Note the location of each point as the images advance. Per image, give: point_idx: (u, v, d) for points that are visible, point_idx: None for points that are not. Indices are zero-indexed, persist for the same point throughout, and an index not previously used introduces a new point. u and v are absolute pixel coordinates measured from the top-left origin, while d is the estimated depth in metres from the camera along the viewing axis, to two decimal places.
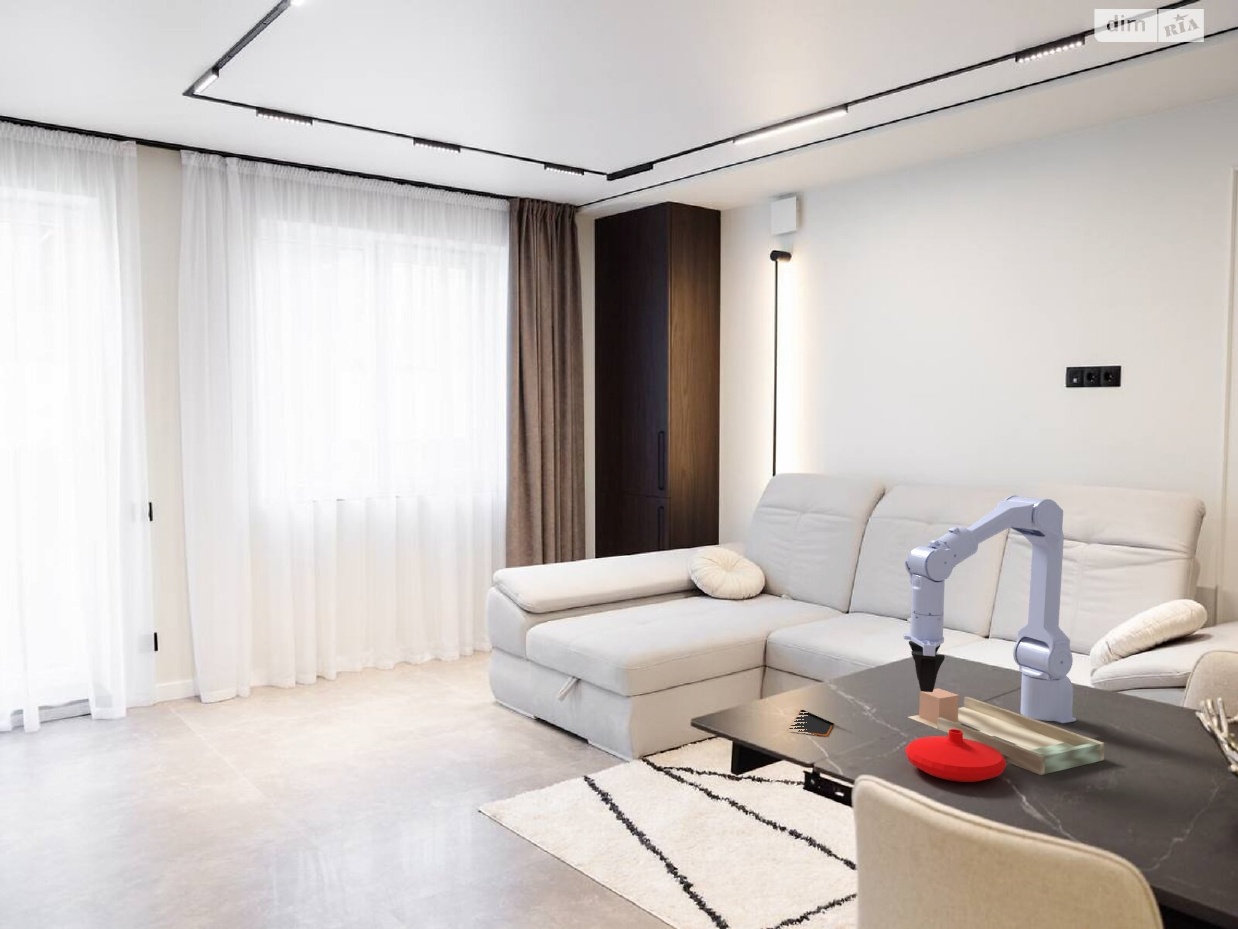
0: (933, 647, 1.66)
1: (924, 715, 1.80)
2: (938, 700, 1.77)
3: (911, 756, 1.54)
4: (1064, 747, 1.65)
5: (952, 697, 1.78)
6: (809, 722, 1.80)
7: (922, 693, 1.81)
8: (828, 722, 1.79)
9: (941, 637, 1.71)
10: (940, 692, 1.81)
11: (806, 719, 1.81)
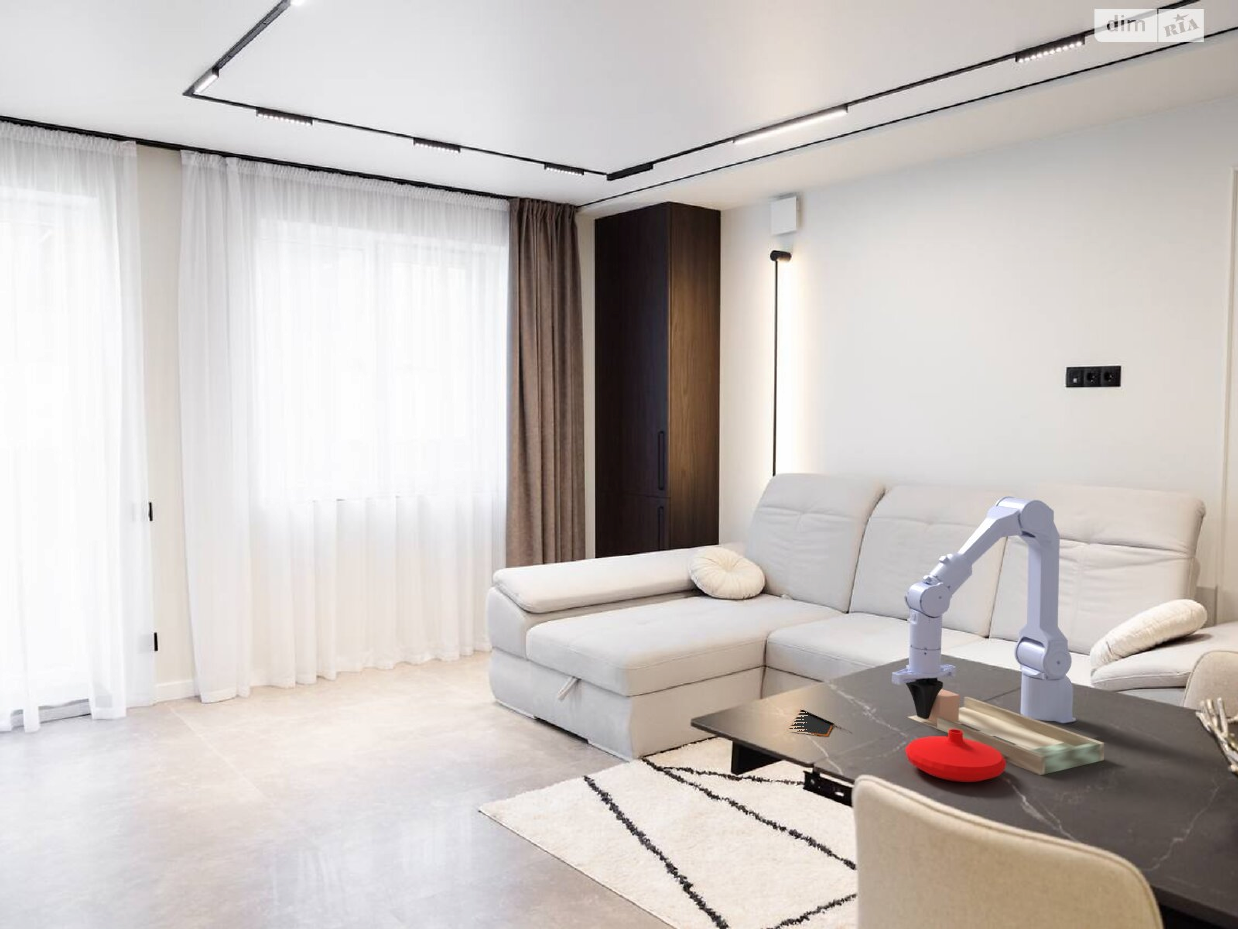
0: (898, 676, 1.74)
1: None
2: (939, 699, 1.77)
3: (911, 756, 1.54)
4: (1064, 747, 1.65)
5: (952, 697, 1.78)
6: (809, 722, 1.80)
7: None
8: (828, 722, 1.80)
9: (929, 672, 1.75)
10: (941, 692, 1.81)
11: (806, 719, 1.81)
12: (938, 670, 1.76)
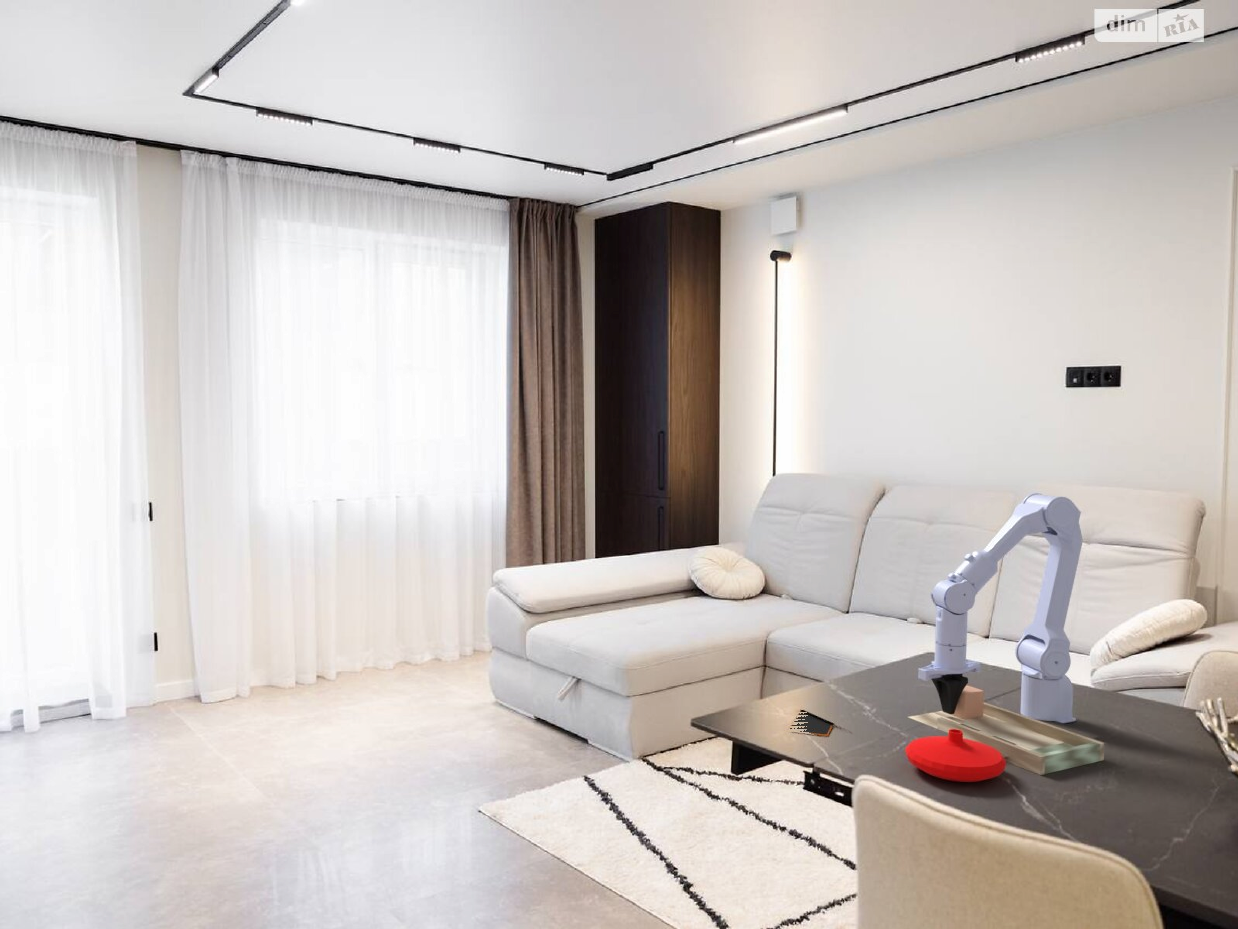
0: (924, 672, 1.77)
1: None
2: (964, 695, 1.80)
3: (911, 756, 1.54)
4: (1064, 747, 1.65)
5: (977, 693, 1.81)
6: (809, 722, 1.80)
7: None
8: (828, 722, 1.80)
9: (955, 668, 1.78)
10: (965, 688, 1.84)
11: (806, 719, 1.81)
12: (963, 666, 1.79)
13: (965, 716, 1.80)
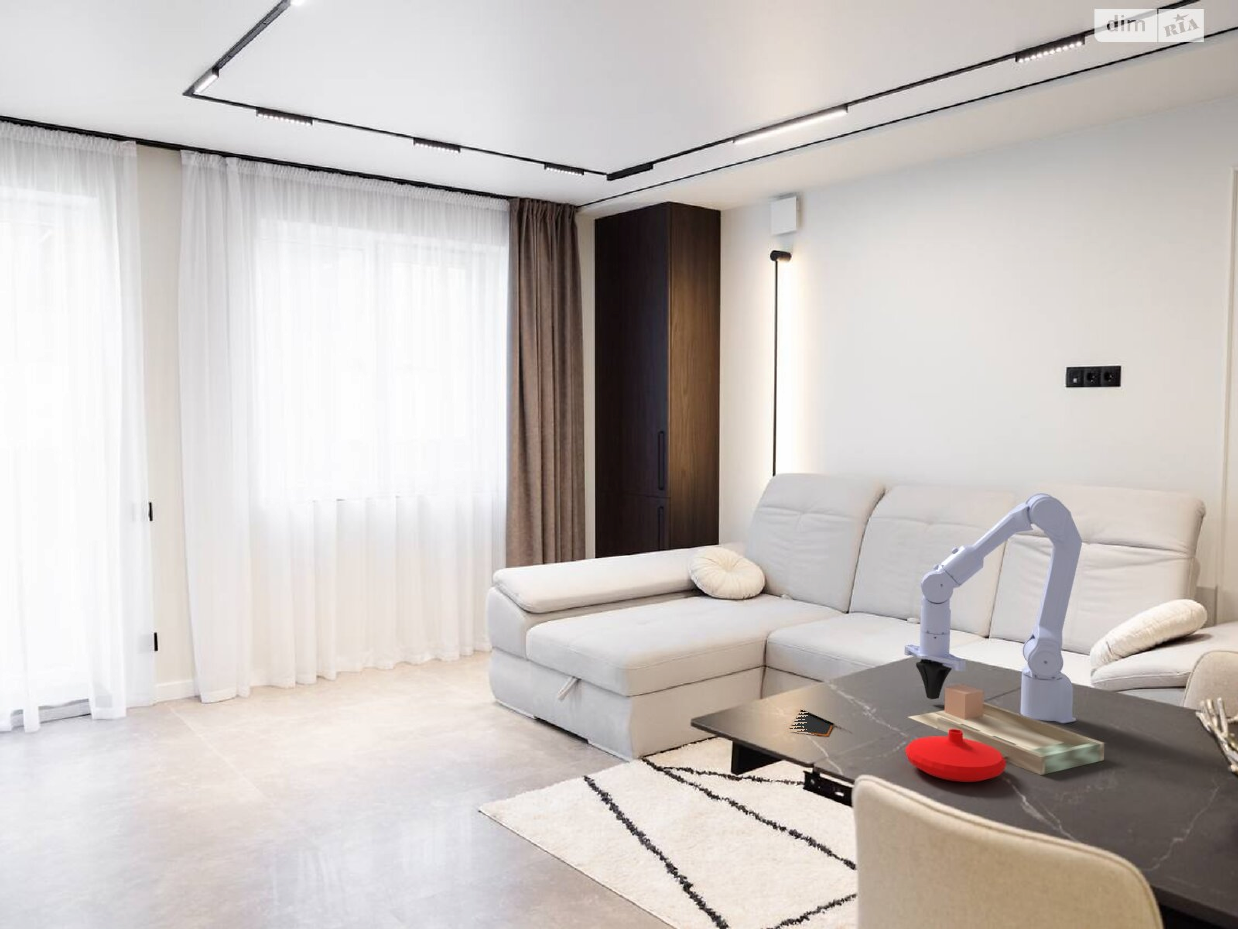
0: (964, 662, 1.83)
1: (950, 710, 1.83)
2: (964, 696, 1.80)
3: (911, 756, 1.54)
4: (1064, 747, 1.65)
5: (977, 693, 1.81)
6: (809, 722, 1.80)
7: (947, 689, 1.84)
8: (828, 722, 1.80)
9: None
10: (965, 688, 1.84)
11: (806, 719, 1.81)
12: None
13: (965, 716, 1.80)
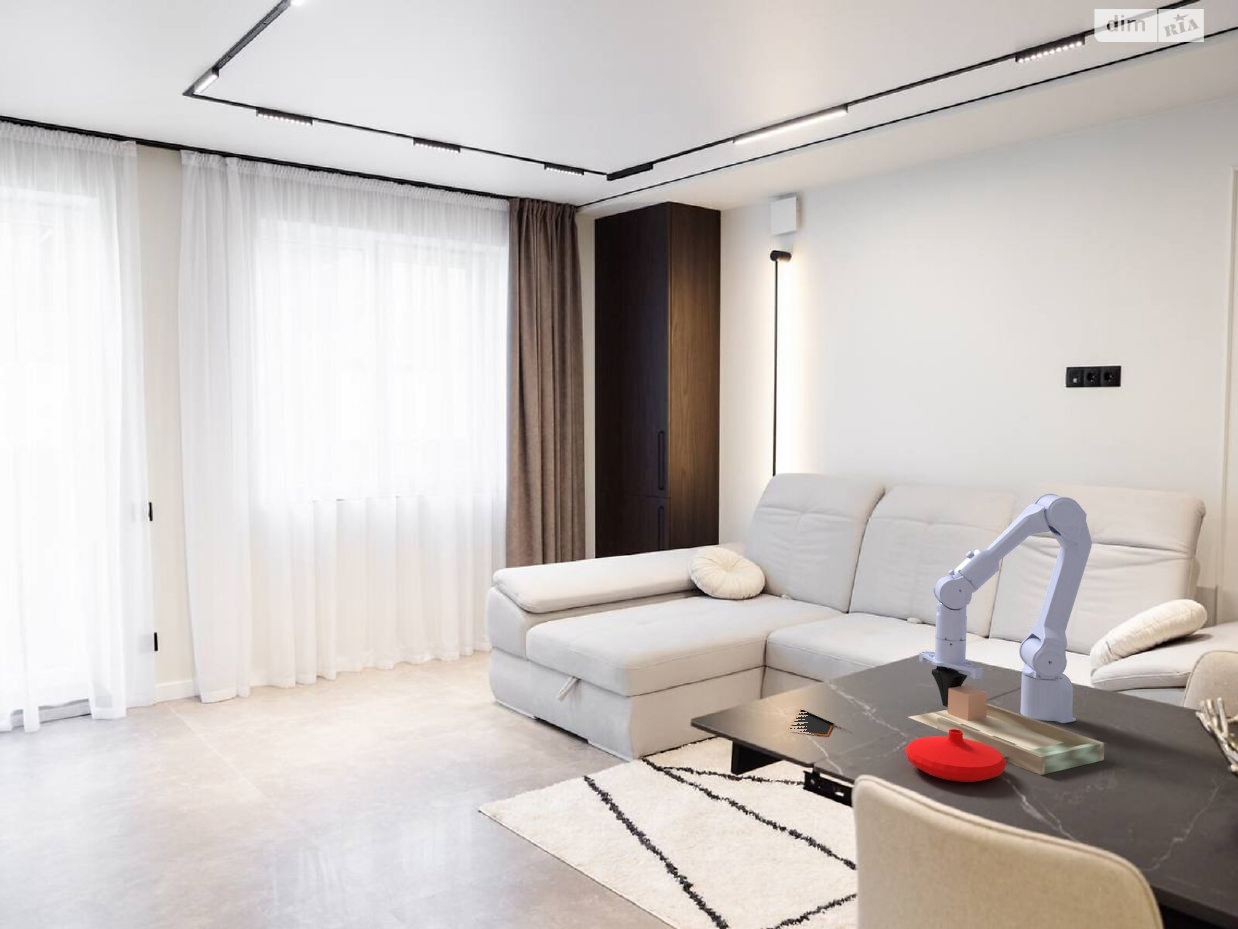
0: (981, 670, 1.80)
1: (953, 711, 1.83)
2: (967, 697, 1.79)
3: (911, 756, 1.54)
4: (1064, 747, 1.65)
5: (980, 694, 1.81)
6: (809, 722, 1.80)
7: (951, 690, 1.83)
8: (828, 722, 1.80)
9: None
10: (969, 689, 1.83)
11: (806, 719, 1.81)
12: None
13: (968, 718, 1.79)
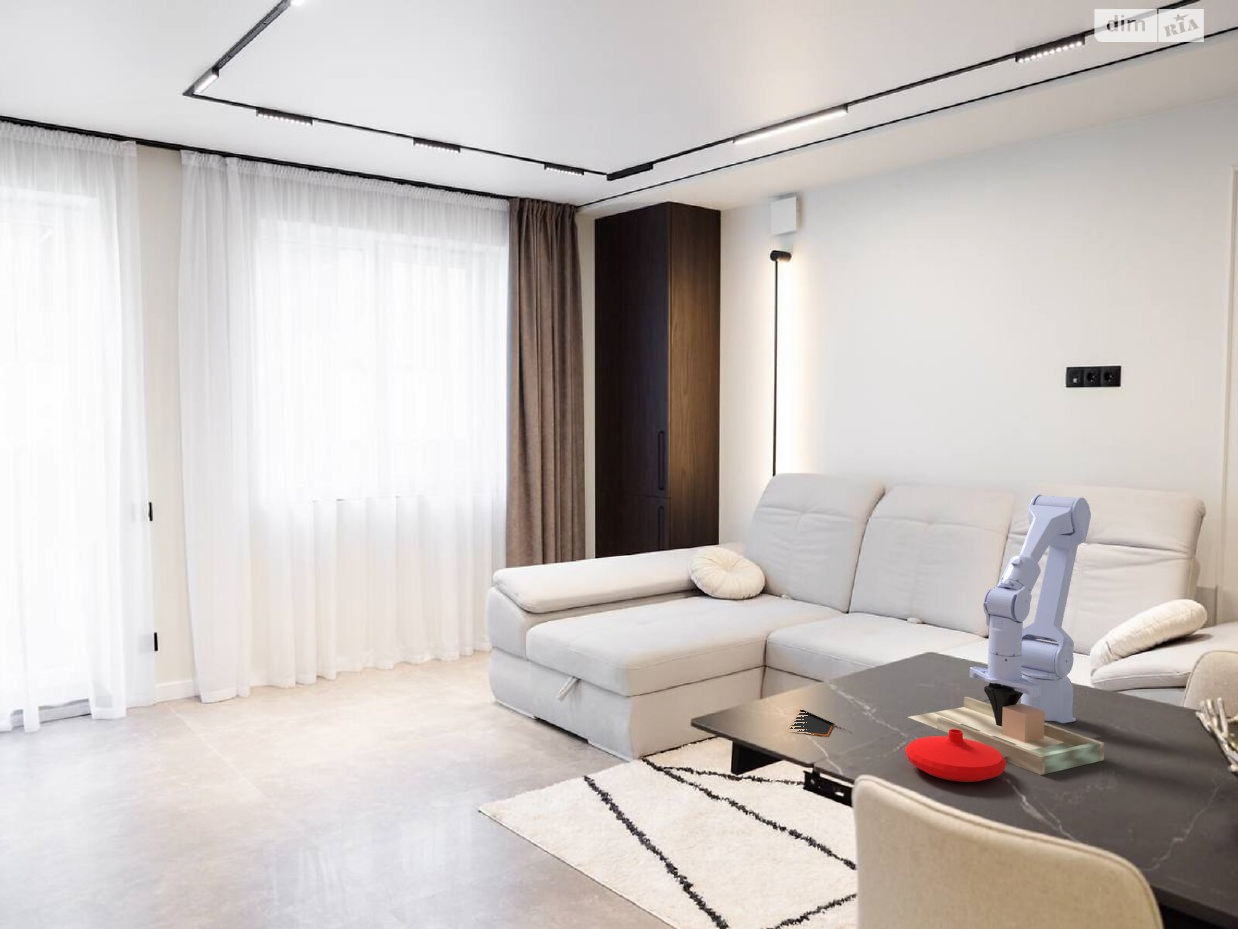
0: (1039, 687, 1.68)
1: (1008, 732, 1.71)
2: (1024, 717, 1.68)
3: (911, 756, 1.54)
4: (1064, 747, 1.65)
5: (1038, 713, 1.69)
6: (809, 722, 1.80)
7: (1005, 709, 1.71)
8: (828, 722, 1.80)
9: None
10: (1024, 708, 1.71)
11: (806, 719, 1.81)
12: None
13: (1025, 739, 1.68)
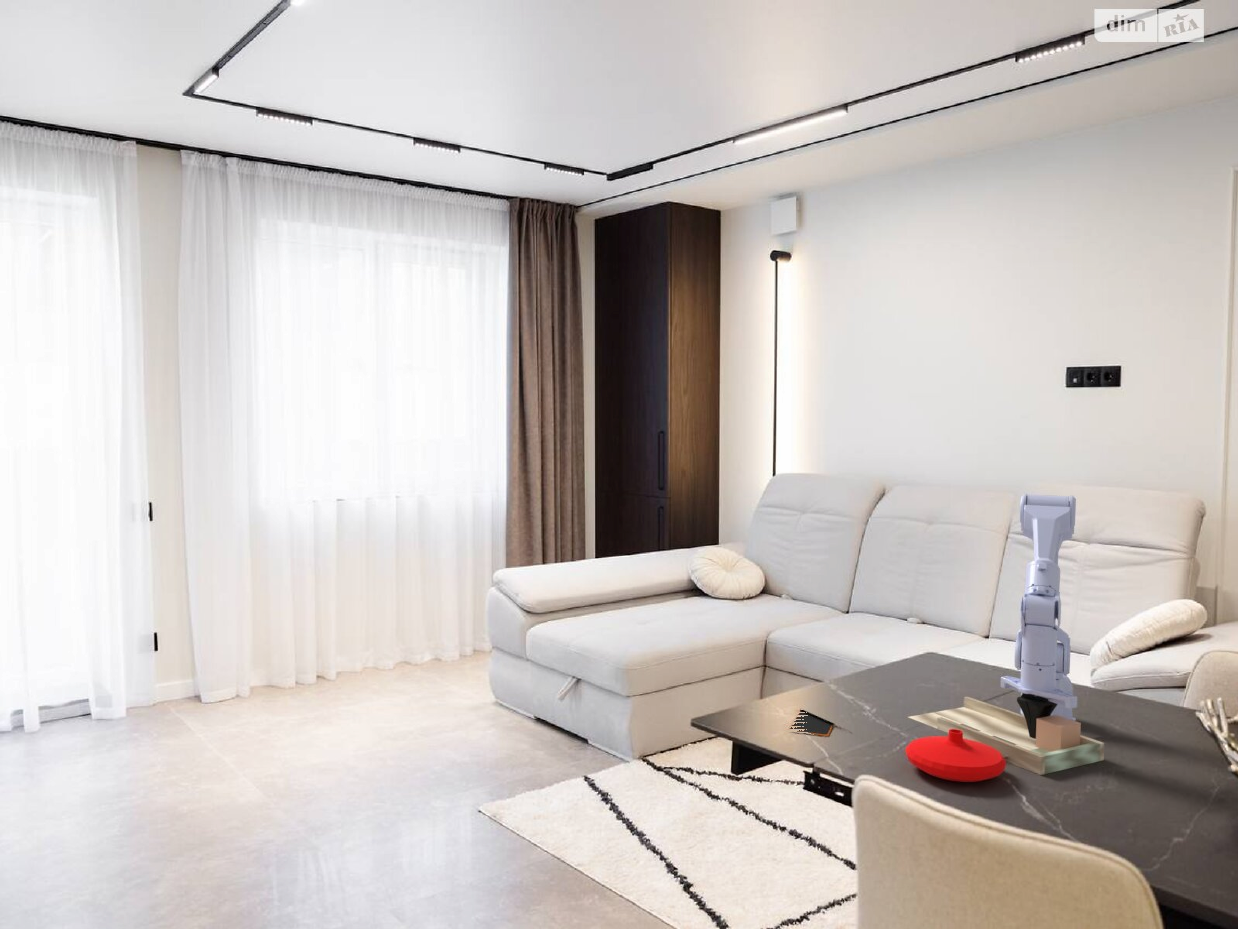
0: (1076, 698, 1.62)
1: (1042, 745, 1.64)
2: (1060, 729, 1.61)
3: (911, 756, 1.54)
4: None
5: (1074, 725, 1.62)
6: (809, 722, 1.80)
7: (1039, 720, 1.65)
8: (828, 722, 1.80)
9: None
10: (1059, 719, 1.65)
11: (806, 719, 1.81)
12: None
13: None
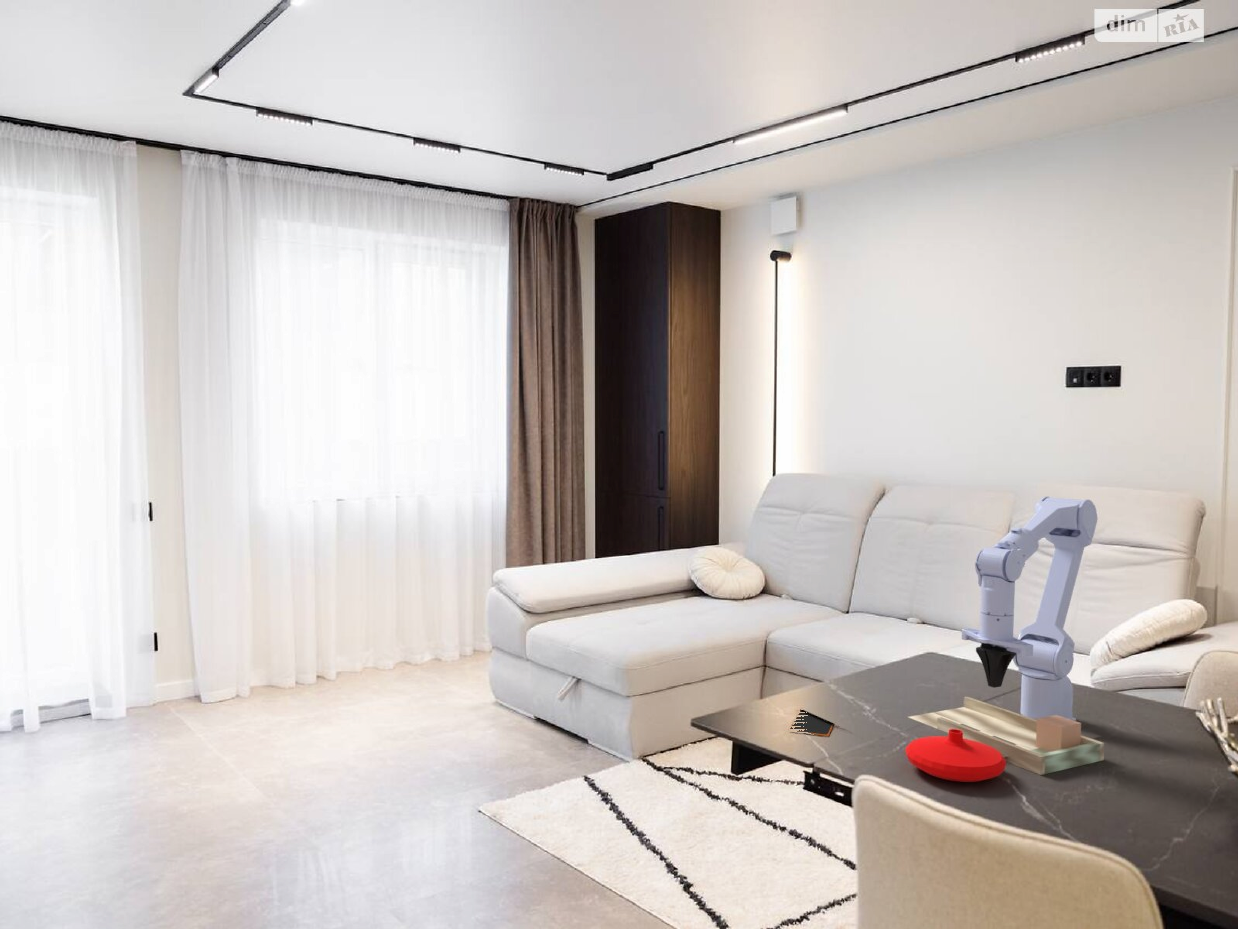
0: (1032, 647, 1.67)
1: (1042, 745, 1.64)
2: (1060, 729, 1.61)
3: (911, 756, 1.54)
4: None
5: (1074, 725, 1.62)
6: (809, 722, 1.80)
7: (1040, 720, 1.65)
8: (828, 722, 1.80)
9: None
10: (1059, 719, 1.65)
11: (806, 719, 1.81)
12: None
13: None
